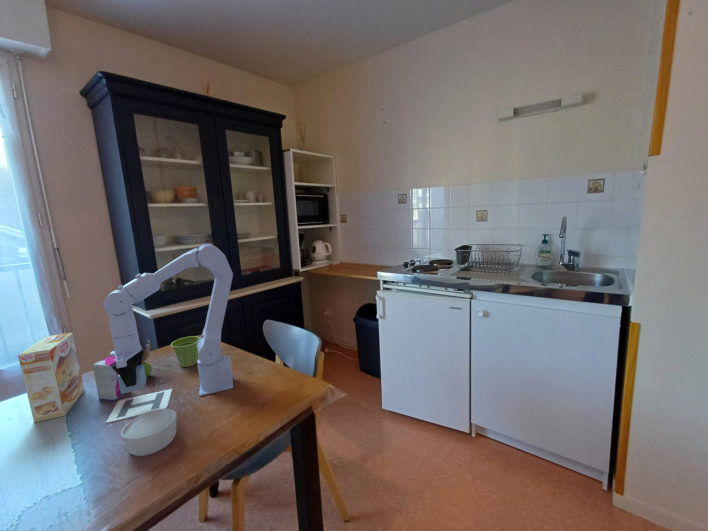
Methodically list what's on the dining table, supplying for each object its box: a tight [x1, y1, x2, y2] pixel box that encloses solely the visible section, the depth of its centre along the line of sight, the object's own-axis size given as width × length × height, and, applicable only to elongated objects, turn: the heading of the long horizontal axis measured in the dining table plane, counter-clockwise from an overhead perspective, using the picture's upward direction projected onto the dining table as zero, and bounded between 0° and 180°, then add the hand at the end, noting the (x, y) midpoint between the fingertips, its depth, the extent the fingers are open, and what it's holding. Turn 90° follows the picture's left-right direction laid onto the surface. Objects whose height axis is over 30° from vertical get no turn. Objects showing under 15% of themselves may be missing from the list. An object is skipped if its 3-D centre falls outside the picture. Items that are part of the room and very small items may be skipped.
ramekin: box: [120, 408, 178, 457], centre depth 76 cm, size 11×11×5 cm
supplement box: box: [92, 355, 127, 402], centre depth 97 cm, size 6×6×12 cm
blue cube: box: [118, 364, 148, 394], centre depth 89 cm, size 5×5×5 cm
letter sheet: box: [105, 388, 173, 424], centre depth 92 cm, size 14×11×1 cm
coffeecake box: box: [17, 332, 86, 423], centre depth 92 cm, size 15×7×20 cm, turn 23°
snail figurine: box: [142, 340, 153, 378], centre depth 107 cm, size 5×6×12 cm
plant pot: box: [170, 335, 201, 368], centre depth 116 cm, size 9×9×9 cm
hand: (133, 380), depth 89 cm, fingers closed on blue cube, 5 cm apart
